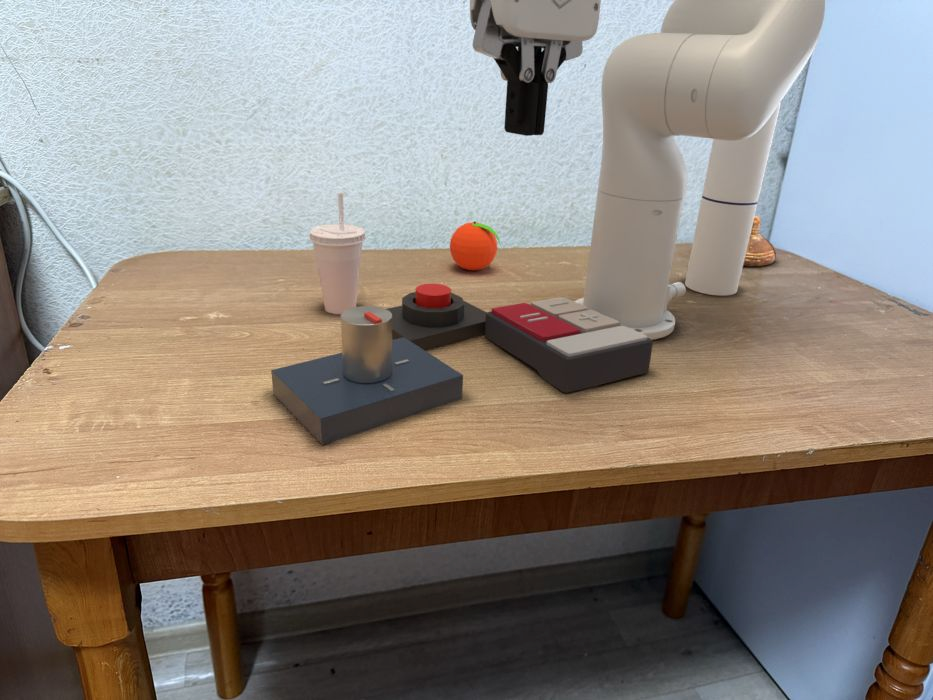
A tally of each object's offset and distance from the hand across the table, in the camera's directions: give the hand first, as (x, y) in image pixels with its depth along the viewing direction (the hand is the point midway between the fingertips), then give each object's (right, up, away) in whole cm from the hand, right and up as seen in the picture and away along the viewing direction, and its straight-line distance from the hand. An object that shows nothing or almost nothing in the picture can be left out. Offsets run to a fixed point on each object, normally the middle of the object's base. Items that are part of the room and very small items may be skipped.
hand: (523, 133), depth 54 cm
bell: (+40, -3, +54) cm, 68 cm away
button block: (-9, -16, +20) cm, 27 cm away
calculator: (+6, -19, +15) cm, 25 cm away
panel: (-14, -22, +5) cm, 27 cm away
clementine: (-3, -7, +41) cm, 42 cm away
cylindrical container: (+30, -9, +39) cm, 50 cm away
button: (-9, -13, +19) cm, 24 cm away
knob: (-14, -20, +4) cm, 25 cm away
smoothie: (-20, -13, +25) cm, 35 cm away
